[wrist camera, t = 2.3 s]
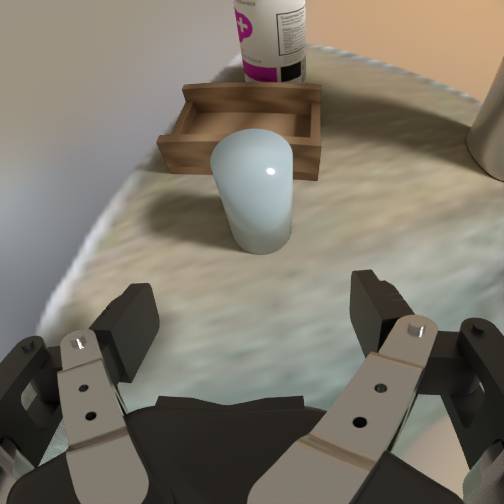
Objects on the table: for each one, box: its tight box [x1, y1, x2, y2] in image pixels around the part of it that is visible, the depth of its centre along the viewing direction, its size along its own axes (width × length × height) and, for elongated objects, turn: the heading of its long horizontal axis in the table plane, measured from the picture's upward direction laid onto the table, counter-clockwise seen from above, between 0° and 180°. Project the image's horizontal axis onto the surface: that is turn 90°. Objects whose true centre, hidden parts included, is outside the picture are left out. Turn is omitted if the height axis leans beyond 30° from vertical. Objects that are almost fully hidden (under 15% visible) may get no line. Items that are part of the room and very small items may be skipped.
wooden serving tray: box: [156, 82, 322, 181], centre depth 32 cm, size 16×10×5 cm, turn 82°
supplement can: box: [234, 0, 306, 84], centre depth 32 cm, size 8×8×15 cm
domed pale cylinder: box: [210, 129, 293, 255], centre depth 25 cm, size 6×6×10 cm
